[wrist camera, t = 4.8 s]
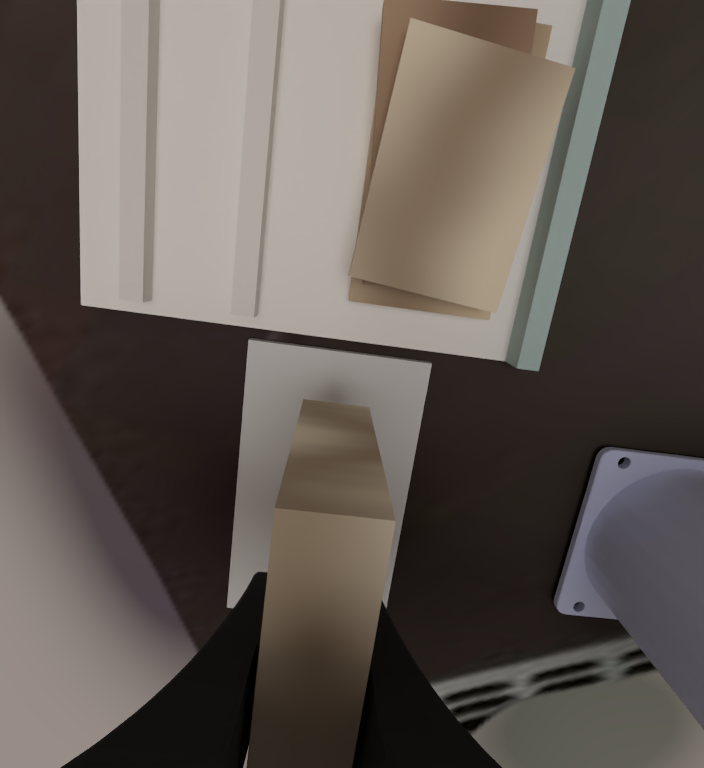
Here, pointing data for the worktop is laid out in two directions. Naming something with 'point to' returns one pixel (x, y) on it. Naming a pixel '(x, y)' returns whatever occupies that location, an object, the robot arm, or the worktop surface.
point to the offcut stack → (453, 153)
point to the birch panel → (322, 591)
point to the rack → (290, 168)
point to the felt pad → (278, 423)
